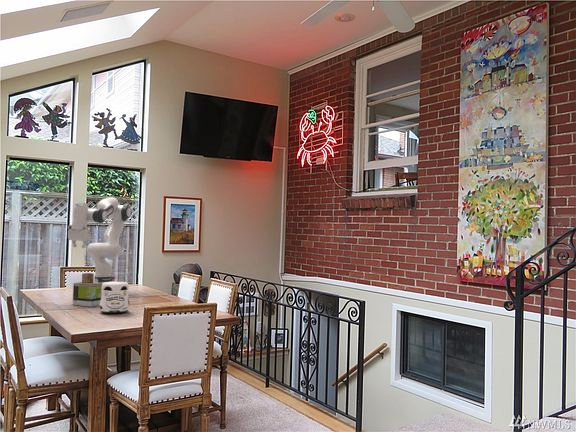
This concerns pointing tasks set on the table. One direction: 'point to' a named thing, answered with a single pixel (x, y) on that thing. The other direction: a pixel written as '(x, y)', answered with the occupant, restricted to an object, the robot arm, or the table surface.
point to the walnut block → (87, 277)
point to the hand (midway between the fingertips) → (79, 247)
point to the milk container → (114, 297)
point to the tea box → (87, 294)
